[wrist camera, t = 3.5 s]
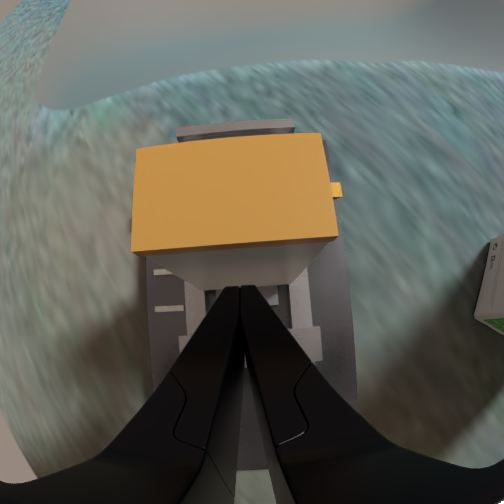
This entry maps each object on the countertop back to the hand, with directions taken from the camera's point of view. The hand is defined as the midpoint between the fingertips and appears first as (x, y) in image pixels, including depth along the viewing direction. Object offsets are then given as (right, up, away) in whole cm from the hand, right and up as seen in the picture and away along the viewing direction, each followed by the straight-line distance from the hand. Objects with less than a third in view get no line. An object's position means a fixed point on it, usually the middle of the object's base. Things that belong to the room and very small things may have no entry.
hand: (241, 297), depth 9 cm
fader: (0, +1, +8) cm, 8 cm away
